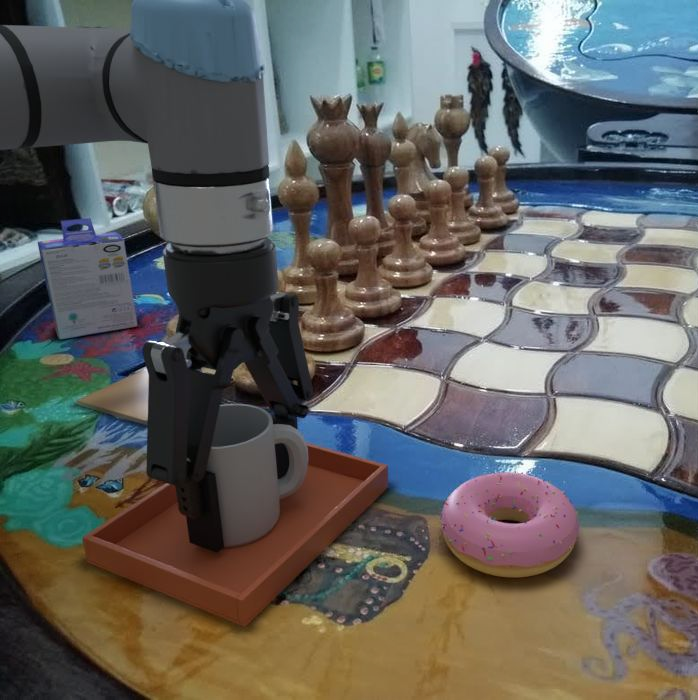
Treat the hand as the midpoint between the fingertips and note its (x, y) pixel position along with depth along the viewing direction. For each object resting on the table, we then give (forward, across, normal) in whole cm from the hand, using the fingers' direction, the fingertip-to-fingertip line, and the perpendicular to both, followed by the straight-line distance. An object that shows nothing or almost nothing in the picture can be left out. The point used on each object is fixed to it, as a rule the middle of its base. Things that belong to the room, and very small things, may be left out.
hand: (248, 512), depth 60 cm
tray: (+1, 0, 0) cm, 1 cm away
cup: (+1, 0, 0) cm, 1 cm away
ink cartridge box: (+1, +25, +47) cm, 53 cm away
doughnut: (+1, +7, -20) cm, 21 cm away
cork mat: (+1, +13, +25) cm, 28 cm away
